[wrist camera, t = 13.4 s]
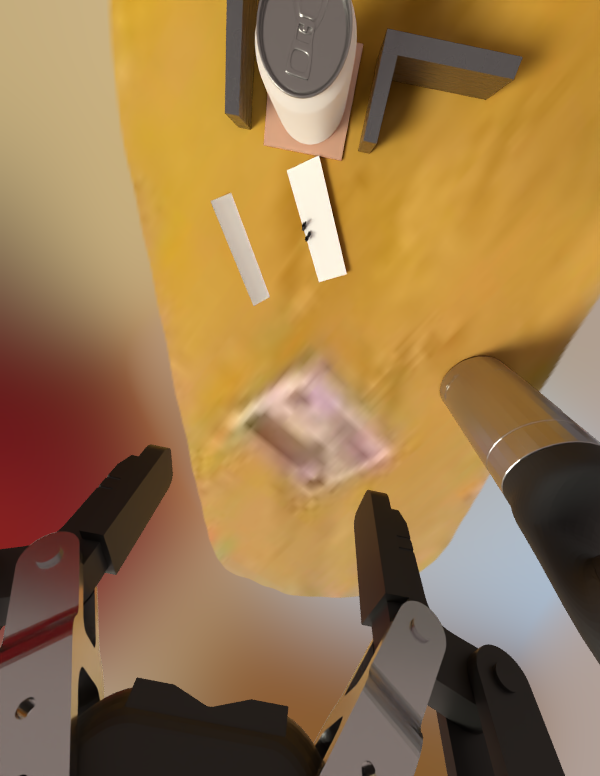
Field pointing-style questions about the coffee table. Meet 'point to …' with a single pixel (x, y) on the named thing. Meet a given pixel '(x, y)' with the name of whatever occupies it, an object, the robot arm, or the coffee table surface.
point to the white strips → (314, 223)
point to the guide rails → (395, 63)
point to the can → (307, 62)
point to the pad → (327, 148)
